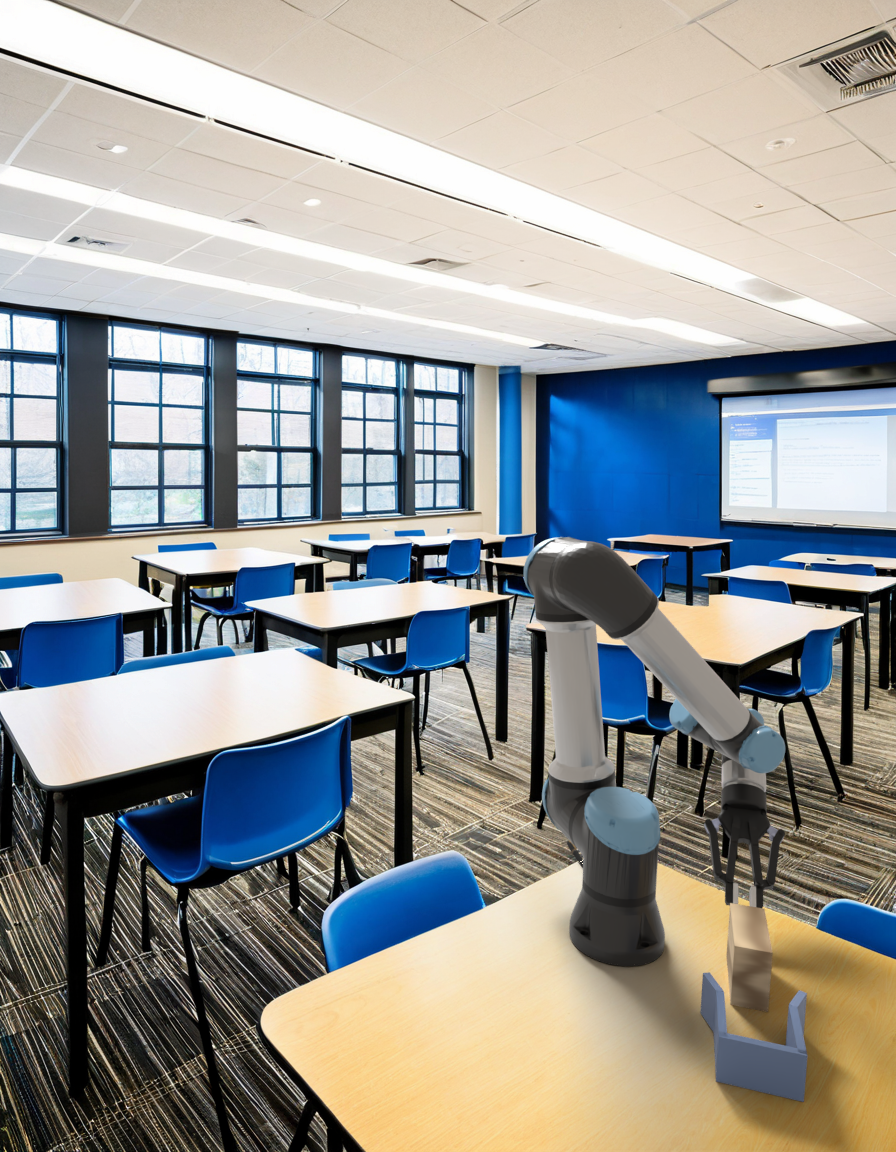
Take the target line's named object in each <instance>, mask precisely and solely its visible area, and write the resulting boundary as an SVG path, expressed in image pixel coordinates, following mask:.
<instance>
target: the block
mask: <svg viewBox="0 0 896 1152" xmlns="http://www.w3.org/2000/svg"><path fill="white" fill-rule="evenodd" d="M768 926H769V925H768V921H767V915H766V909H765V908H757V907H751V906H750V905H746V904H745V905H744V904H741V903H740V904H739V903H738V904H734V903H730V906H729V914H728V927H727V942H726V955H725V956H726V966H727V967H726V968H727V980H728V989H729V991H728V992H729V1001H730V1003H729V1004H730V1005H731V1006H737V1007H740V1008H746V1009H751V1010H756V1011H762V1012H765V1013H769V1007H770V1006H769V1004H770V992H771V991H770V990H771V979H772V967H773V966H772V964H773V954H774V953H773V948H772V941H771V937H770V932H769V927H768Z"/></svg>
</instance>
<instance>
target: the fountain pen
mask: <svg viewBox="0 0 896 1152" xmlns="http://www.w3.org/2000/svg"><path fill="white" fill-rule="evenodd" d="M566 845H567V847H568V848H569V851H570V852H571V854H572V855H573V856H574V858H575V859H576V861H577V862H578V863H579V862H580V861H582V860H583V856H581V853H580V852H579V850H578V849H577V848H576V847H575V846H574V845H573V844H572V843H571V842H570V840H569V839H568V840H567V841H566ZM582 863H583V861H582V862H580V863H579V865H580V864H581V865H580V866H581V867H582V866H583V864H582Z"/></svg>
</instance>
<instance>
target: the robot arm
mask: <svg viewBox="0 0 896 1152" xmlns="http://www.w3.org/2000/svg"><path fill="white" fill-rule="evenodd" d="M523 581H524V583H525V587H526V588H527V590H528V591H529V593H530V594H531V596H532V597H533V599H534V610H535V612H534V613H535V621H537V622H538V623H539V624H540V625H541V626H543V628H544V629H545V637H546V639H545V640H546V649H547V650H546V651H547V663H548V673H549V676H548V677H549V685H550V687H549V688H550V700H551V713H552V722H553V723H552V724H553V727H552V728H553V737H554V738H553V739H554V748H555V749H554V750H555V752H554V753H555V758H554V759H553V760H552V761H551V763H549V765H548V770H547V771H548V772H547V773H548V777H547V779H545V781H544V783H543V786H542V790H541V791H542V792H541V801H542V805H543V809H544V811H545V813H546V815H547V817H548V819H549V820H550V821H551V823H552V824H553V825H554V827H555V828H556V829H557V830H558V831H560V832H561V834H563V835H564V837H565V838H566V839H567V840H568V841H569V840H570V842H571V843H572V844H573V845H574V846H575V847H576V848H577V851H578V852H579V853H580V854H581V855H582V859H583V867H582V884H581V885H582V888H581V889H580V893H579V895H578V898H577V900H576V902H575V904H574V908H573V909H572V912H571V913H570V914H571V915H570V919H569V931H568V932H569V933H568V934H569V939H570V940H571V942H572V944H573V945H574V947H576V948H577V950H579V951H580V952H581V953H583V954H584V955H586V956H588V957H589V958H591V959H593V960H596V961H598V962H601V963H604V964H608V965H613V966H621V967H637V966H643V965H647V964H650V963H652V962H654V961H656V960H657V959H658V958H660V957H661V955H662V954H663V953H664V950H665V940H666V939H665V938H666V936H665V935H666V933H665V928H664V923H663V920H662V918H661V913H660V910H659V906H658V903H657V902H658V901H657V899H656V897H657V894H656V893H657V882H658V881H657V880H658V879H657V877H658V865H659V862H658V861H659V847H660V846H659V845H660V839H661V826H660V813H659V811H658V809H657V807H656V805H655V804H654V802H652V801H651V799H649V798H648V797H647V796H645V795H643V794H642V793H640V792H637V791H631V789H629V788H626V787H625V788H624V787H620V786H617V783H616V768H615V764H614V762H613V761H612V760H611V759H610V758H608V757H607V756H606V753H605V752H606V751H605V739H604V738H605V737H604V725H603V724H604V722H603V707H602V695H601V693H602V692H601V680H600V665H599V651H598V649H599V648H598V640H597V639H598V635H597V626H598V627H599V628H600V629H602V630H603V631H604V632H605V633H606V634H607V636H608V637H609V638H611V639H612V640H621V641H622V642H623V643H624V645H626V646H627V648H629V650H630V651H631V652H632V653H633V654H634V655H635V656H636V657H637V658H638V659H639V660H640V661H641V663H642V664H644V666H645V667H646V668H647V669H648V670H649V671H650V673H652V674H653V675H654V676H655V678H657V680H658V681H659V682H660V683H661V684H662V685H663V686H664V687H665V688H666V689H667V690H668V691H669V693H671V695H672V696H673V697H674V698H675V699H674V700H673V704H672V705H671V706H670V709H669V714H668V715H669V722H670V724H671V725H672V727H673V728H675V729H676V730H678V731H679V732H681V733H682V734H683V735H686V736H688V737H690V738H692V739H694V740H696V741H698V742H700V743H702V744H703V745H704V746H706V747H708V748H710V749H712V750H714V751H716V752H717V753H720V754H721V788H722V789H721V794H720V798H721V799H720V801H721V802H720V812H719V813H718V816H717V818H714V819H710V818H707V819H705V821H704V825H703V828H704V831H705V832H706V834H707V836H708V840H709V842H708V843H709V848H710V849H709V850H710V857H711V859H710V860H711V865H712V866H711V867H712V874H713V879H714V880H715V881H716V882H720V883H722V884H723V886H724V903H725V905H726V906H728V907H730V903H734V904H739V883H736V882H734V879H735V873H736V872H735V871H736V870H735V869H736V862H737V854H738V853H737V852H738V845H739V844H743V843H744V844H747V845H748V851H749V857H750V865H751V875H752V882H753V885H751V886H750V888H749V890H748V891H749V892H748V893H749V894H748V895H749V899H748V901H749V903H748V904H749V905H748V906H751V907H757V908H763V907H764V891H765V890H773V889H774V886H775V883H776V878H777V877H776V876H777V869H778V861H779V854H780V853H779V852H780V845H781V844H782V842H783V840H784V837H785V835H786V832H785V830H784V829H782V828H781V829H777V828H775V827H774V826H772V825H771V822H770V820H769V818H768V813H767V812H768V811H767V805H768V803H767V793H766V791H767V773H771V772H773V771H775V770H776V769H777V768H778V767H779V766H780V764H781V763H782V762H783V760H784V757H785V753H786V744H785V740H784V738H783V737H782V735H781V734H780V733H779V732H777V731H776V730H775V729H773V728H772V727H770V726H768V725H765V719H764V717H763V715H762V714H761V713H760V712H759V711H758V710H756V709H754V708H747V707H746V705H744V704H743V702H742V701H741V699H739V698H738V696H737V695H736V694H735V693H734V692H733V691H732V689H730V687H729V686H728V685H727V684H726V683H725V682H724V680H722V678H721V677H720V676H719V675H718V674H717V673H716V672H715V670H714V669H713V668H712V667H711V666H710V665H709V664H708V663H707V662H706V660H705V659H704V658H703V657H702V656H701V655H700V654H699V652H698V651H697V650H696V648H694V647H693V645H692V644H690V642H689V641H688V640H687V638H685V636H684V635H683V634H682V633H681V632H680V631H679V629H677V628H676V627H675V625H674V624H673V623H672V622H671V621H670V620H669V618H668V617H667V616H666V615H665V614H664V612H663V611H661V609H660V608H659V605H660V601H659V598H658V596H657V595H656V594H655V592H654V591H653V590H652V589H651V588H650V587H649V586H648V584H646V581H645V582H644V580H643V579H642V578H641V577H640V575H639V574H637V571H635V570H634V569H633V568H632V567H631V565H630V564H629V563H627V561H626V560H625V559H624V558H623V557H622V556H620V554H618V553H617V552H616V551H615V550H614V549H612V548H610V547H609V546H607V545H605V544H603V543H599V542H595V541H590V540H589V541H587V540H580V539H577V538H575V537H571V536H567V537H566V536H565V537H564V536H560V537H552V538H548V539H545V540H543V541H541V542H540V543H538V544H536V545H535V546H534V548H532V550H531V551H530V553H529V554H528V555H527V558H526V560H525V562H524V566H523ZM720 827H721V829H722V830H723V831H724V833H725V834H726V836H727V838H729V843H728V845H729V846H728V855H727V860H726V861H727V862H726V871H725V872H723V870H722V869H723V868H722V861H721V854H720V853H721V851H720V845H719V837H718V836H719V835H718V833H719V832H720V831H719V830H720ZM767 833H768V839H769V841H770V842H771V844H770V847H769V848H770V849H769V856H768V863H767V872H766V878H763V877H764V876H763V870H762V861H761V854H760V846H759V845H760V843H759V842H760V840H762V838H763V837H764V836H765V835H766V834H767ZM763 909H764V908H763Z"/></svg>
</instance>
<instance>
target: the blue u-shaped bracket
mask: <svg viewBox="0 0 896 1152" xmlns="http://www.w3.org/2000/svg"><path fill="white" fill-rule="evenodd" d="M701 982H702V984H701V998H700V1011H699V1013H700V1015H701V1016H702V1017H703V1019H704V1020H705V1023H707V1025H708V1026H709V1028H710V1029H711V1031H712V1033H713V1046H714V1047H713V1050H714V1071H715V1072H714V1073H715V1082H716V1083H721V1084H726V1085H728V1086H729V1085H730V1086H733V1087H734V1086H735V1087H738V1088H742V1089H747V1090H751V1091H755V1092H760V1093H763V1094H768V1095H772V1096H776V1097H781V1098H785V1099H789V1100H795V1101H798V1102H802V1103H804V1102H805V1093H806V1091H805V1090H806V1079H807V1068H808V1067H807V1066H808V1051H807V1047H806V1042H805V1038H804V1035H805V1022H806V1013H807V1012H806V1009H807V1000H808V999H807V997H808V993H807V992H805V991H803V990H798V991H797V992H796V994H795V995H794V996H793V998H792V999H791V1001H790V1002H789V1004H788V1010H787V1011H788V1012H787V1023H786V1035H785V1036H786V1037H785V1045H784V1044H779V1043H775V1042H770V1041H766V1040H761V1039H756V1038H753V1037H746V1036H742V1035H737V1034H733V1033H730V1032H728V1029H727V1028H728V1026H727V1012H726V998H725V992H724V990H723V988H722V987H721V985H720V984H719V983H718V981H717V980H716V978H715V977H714V976H713V975H712V974H711V972H709V971H708V972H702V981H701Z"/></svg>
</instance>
